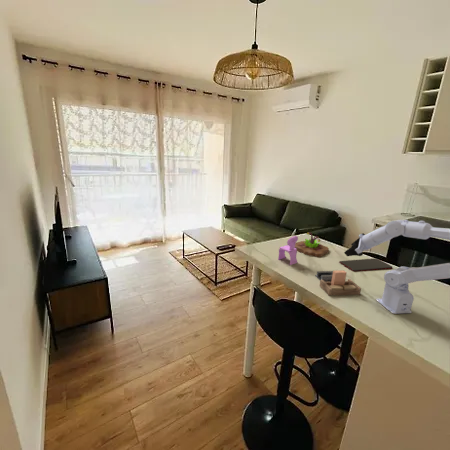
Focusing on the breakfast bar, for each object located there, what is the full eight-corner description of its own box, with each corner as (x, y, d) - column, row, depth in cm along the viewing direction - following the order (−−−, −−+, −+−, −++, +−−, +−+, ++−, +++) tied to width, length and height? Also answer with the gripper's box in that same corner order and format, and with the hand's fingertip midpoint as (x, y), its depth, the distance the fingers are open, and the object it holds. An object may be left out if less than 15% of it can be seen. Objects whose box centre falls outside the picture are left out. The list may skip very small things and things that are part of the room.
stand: (339, 281, 116) (340, 276, 115) (321, 281, 115) (321, 276, 114) (332, 275, 122) (333, 270, 121) (315, 275, 121) (315, 270, 120)
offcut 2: (354, 293, 107) (356, 287, 106) (343, 293, 106) (345, 287, 105) (351, 291, 109) (353, 284, 108) (341, 291, 108) (342, 285, 107)
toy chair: (285, 256, 142) (288, 231, 138) (298, 262, 136) (302, 235, 132) (276, 259, 137) (278, 233, 133) (288, 265, 131) (292, 238, 127)
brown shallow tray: (359, 294, 106) (361, 288, 105) (328, 295, 104) (329, 289, 103) (348, 285, 113) (349, 279, 112) (319, 285, 112) (320, 279, 111)
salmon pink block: (343, 289, 110) (346, 272, 107) (332, 289, 109) (335, 272, 107) (340, 286, 112) (344, 270, 109) (330, 287, 111) (333, 270, 109)
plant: (303, 242, 168) (306, 226, 165) (332, 251, 154) (335, 233, 151) (287, 249, 154) (289, 232, 151) (317, 259, 141) (320, 240, 138)
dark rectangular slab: (337, 260, 138) (375, 257, 143) (337, 263, 138) (375, 260, 144) (353, 270, 126) (394, 267, 132) (352, 273, 127) (393, 269, 132)
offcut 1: (341, 293, 106) (342, 287, 105) (330, 294, 105) (331, 287, 104) (339, 291, 108) (340, 285, 107) (328, 291, 107) (329, 285, 106)
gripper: (375, 222, 106) (350, 235, 117) (362, 237, 98) (336, 250, 109) (387, 235, 105) (360, 247, 116) (375, 252, 97) (347, 263, 108)
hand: (349, 249), depth 112 cm, fingers open, 7 cm apart
